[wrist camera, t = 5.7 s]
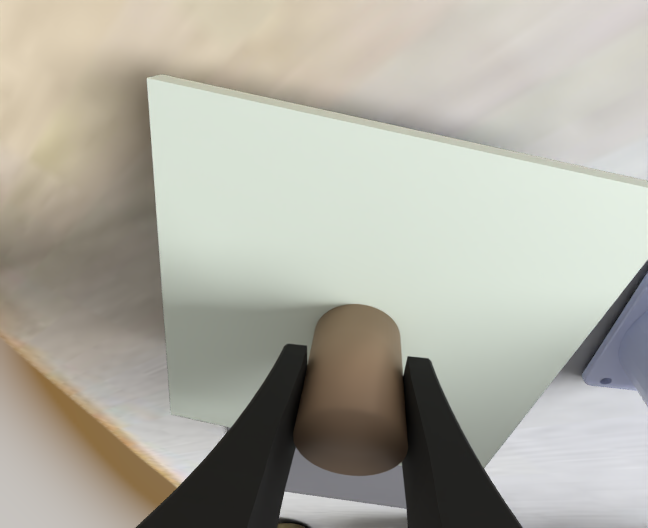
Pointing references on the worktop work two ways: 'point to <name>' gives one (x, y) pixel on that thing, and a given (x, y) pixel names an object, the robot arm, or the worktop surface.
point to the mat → (346, 484)
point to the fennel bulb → (289, 525)
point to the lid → (373, 267)
